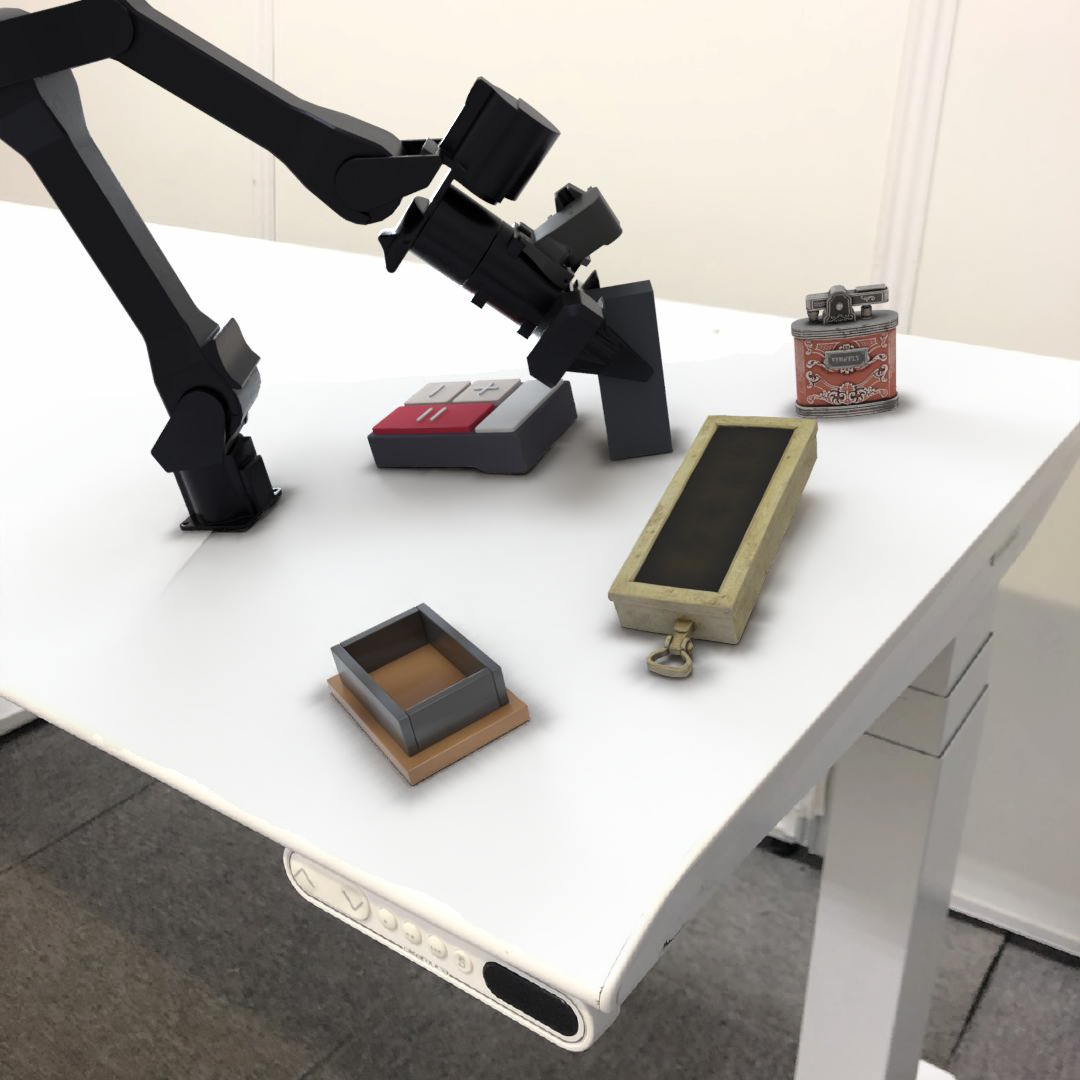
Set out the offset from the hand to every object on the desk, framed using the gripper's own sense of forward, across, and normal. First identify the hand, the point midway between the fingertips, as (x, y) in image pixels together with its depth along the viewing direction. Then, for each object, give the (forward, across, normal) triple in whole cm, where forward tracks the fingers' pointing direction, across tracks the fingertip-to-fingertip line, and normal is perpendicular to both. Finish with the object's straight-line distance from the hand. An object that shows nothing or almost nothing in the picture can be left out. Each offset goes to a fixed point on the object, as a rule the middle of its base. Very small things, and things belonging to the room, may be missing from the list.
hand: (647, 367), depth 81 cm
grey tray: (-7, -30, +17) cm, 35 cm away
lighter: (+16, +1, -6) cm, 17 cm away
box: (+6, -20, +4) cm, 22 cm away
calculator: (-6, +6, +16) cm, 18 cm away
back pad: (+4, 0, +6) cm, 7 cm away
